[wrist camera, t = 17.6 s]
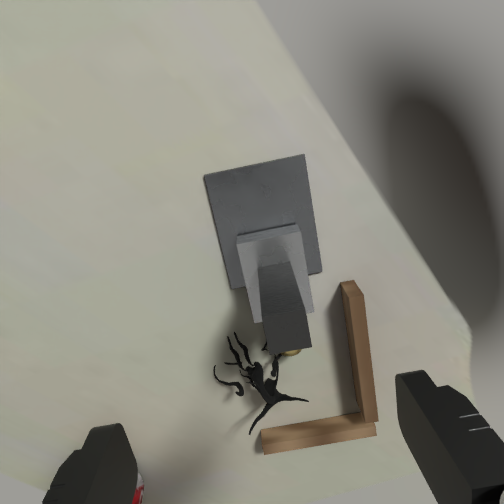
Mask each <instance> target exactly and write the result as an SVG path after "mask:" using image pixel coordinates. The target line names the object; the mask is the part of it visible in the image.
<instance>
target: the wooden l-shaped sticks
mask: <svg viewBox="0 0 504 504" xmlns="http://www.w3.org/2000/svg"><path fill="white" fill-rule="evenodd" d="M340 286H341V293H342V300H343V307H344V314H345V322H346V329H347V336H348V343H349V350H350V358H351V365H352V372H353V379H354V387H355V394H356V401H357V403H358V406H359V408H360V411H361V412H359V413H354V414H348V415H342V416H336V417H331V418H325V419H319V420H314V421H308V422H302V423H296V424H291V425H285V426H279V427H273V428H268V429H262V430H261V437H262V448H263V452H264V455H267V454H273V453H278V452H284V451H290V450H296V449H302V448H307V447H313V446H319V445H325V444H331V443H337V442H342V441H348V440H354V439H360V438H366V437H372V436H377V434H376V426H375V424H374V422H377V421H378V412H377V404H376V395H375V387H374V378H373V370H372V361H371V353H370V344H369V336H368V327H367V319H366V310H365V302H364V295H363V293H362V292H361V290H360V289H359V287H358V286H357V284H356V283H355V281H354V280H351V281H346V282H341V283H340Z"/></svg>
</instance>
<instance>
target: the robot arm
mask: <svg viewBox="0 0 504 504" xmlns="http://www.w3.org/2000/svg"><path fill="white" fill-rule="evenodd" d="M395 384H396V399H397V413H398V421H399V425H400V429H401V432H402V434H403V437H404V439H405V441H406V443H407V445H408V447H409V449H410V451H411V453H412V455H413V457H414V458H415V460H416V462H417V464H418V466H419V468H420V470H421V472H422V474H423V476H424V478H425V479H426V481H427V483H428V485H429V487H430V489H431V491H432V493H433V494H434V497H435V499H436V501H437V502H438V504H504V442H503V441H502V440H501V439H500V437H499V436H498V435H497V434H496V433H495V431H494V430H493V429H491V428H490V426H489V424H488V423H487V422H486V420H485V419H484V418H483V417H482V415H480V414H479V412H478V411H477V409H476V408H475V407H474V406H473V404H472V403H471V402H470V401H469V400H468V398H467V397H466V396H464V395H463V394H461V393H459V392H458V391H456V390H455V389H453V388H452V387H450V386H449V385H446V386H441V387H437V386H436V385H435V384H434V382H433V381H432V380H431V378H430V377H429V376H428V374H427V373H426V372H425V371H424V370H418V371H413V372H407V373H401V374H397V375H396V377H395ZM137 481H138V468H137V463H136V459H135V457H134V454H133V452H132V449H131V446H130V444H129V441H128V438H127V436H126V433H125V431H124V428H123V426H122V425H121V424H120V423H116V424H111V425H105V426H100V427H94V428H92V429H91V430H90V432H89V434H88V436H87V438H86V440H85V443H84V445H83V447H82V449H80V450H74V452H73V453H72V454H71V455H70V456H69V457H68V458H67V460H66V461H65V462H64V463H63V464H62V465H61V466H60V467H59V469H58V471H57V473H56V475H55V477H54V479H53V481H52V483H51V485H50V490H48V491H47V493H46V496H45V497H44V499H43V501H42V503H43V504H132V502H133V498H134V494H135V490H136V486H137Z"/></svg>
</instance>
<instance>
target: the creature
mask: <svg viewBox="0 0 504 504" xmlns="http://www.w3.org/2000/svg"><path fill="white" fill-rule="evenodd" d="M234 335H235V338H236V340H237V342H238V344H239V345H240V347H241V348H242V349H243V350H244V355H245V358H246V360H247V361H248V363H249V364H250V365H252V364H251V362H250V359H249V355H248V349H247V347H246V346H245V345H243V344H242V343H241V342H240V341H239V340H238V338H237V335H236V333H235V332H234ZM227 338H228V342H229V345H230V350H231V351H232V353H233V354H234V355H235V358H236V360H237V363H235V364H238V365H239V367H240V368H241V369H242V370H244V368H243V367H242V362H241V361H240V358H239V354H238V353H237V351H236V350H235V349H233V347H232V345H231V341H230V339H229V337H228V336H227ZM266 345H267V342H266V344H265V346H264V348H263V349H262V350H267V349H266V348H265V347H266ZM262 350H261V351H262ZM274 355H275V354H274ZM281 356H282V354H280V353H279V355H278V356H277V357H276V356H275V359H274V361H273V363H272V367H273V370H272V371H271V375H272V376H273V377H275V376H276V380H271V379H269V378H268V379H267V381H266V382H265V384H264V381H263V368H262V366H261V364H260V363H259V362H254V365H252V366H255V367H253V368H252V367H249V366H248V367H247V368H246V369H245V370H244V371H247V372H248V375H249V376H250V377H249V376H244V377H247V378H249V379H250V381H249V382H246V383H250V384H252V386H253V387H255V388H256V389H257V390H258V391H259V393H261V395H262V397H263V399H264V400H265V401H266V402H267V404H266V406H265V407H264V409H263V411H262V412H261V414H260V415H259V416H258V417H257V418H256V419H255V421H254V422H253V424H252V426H251V428H250V431H249V435H250V434H251V431H252V429H253V428H254V426H255V425H256V423H257V422H258V421H259V420H260V419H261V418H262V417H264V415H265V414H266V413H267V412H268V410H269V409H270V408H271V407H272V406H273V405H275V404H276V403H278V402H280V401H293V400H299V401H305V402H309V401H308V400H305V399H301V398H296V397H290V396H288V395H286V394H281V393H279V392H278V391H277V389H276V385H277V381H278V371H279V365H278V361H277V360H278V359H279V358H280V357H281ZM225 364H231V363H225ZM215 366H216V365H215ZM215 366H214V375H215ZM276 372H277V375H276ZM240 373H241V371H240ZM241 375H242V374H241ZM242 376H243V375H242ZM215 378H216V379H217V380H218V381H219V382H221V383H223V384H225V385H230V386H232V385H234V386H236V387H237V388H238V389H239V392H235V393H236V394H237V395H238V396H243V395H244V390H243V387H242V385H241V384H240V383H239V382H230V383H228V382H224V381H220V380H219V379H218V378H217V376H216V375H215ZM253 381H254V383H253ZM255 384H256V385H255Z"/></svg>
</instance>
